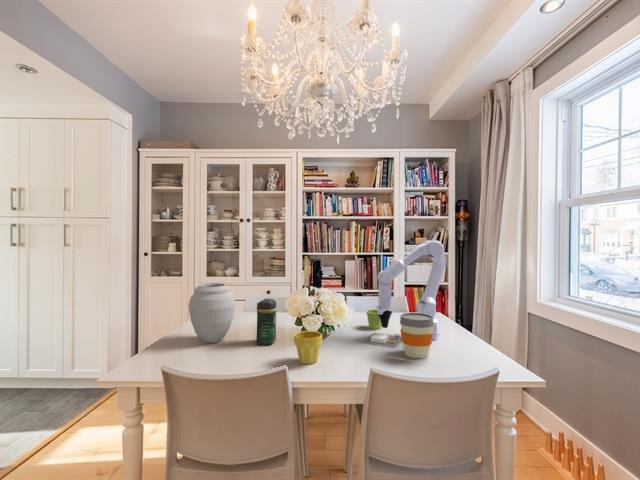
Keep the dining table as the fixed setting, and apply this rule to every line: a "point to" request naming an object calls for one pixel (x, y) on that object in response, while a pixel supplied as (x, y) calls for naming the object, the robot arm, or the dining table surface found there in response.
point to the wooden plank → (393, 339)
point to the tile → (379, 338)
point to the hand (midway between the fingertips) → (384, 327)
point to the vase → (211, 311)
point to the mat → (368, 341)
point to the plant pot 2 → (373, 319)
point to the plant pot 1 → (308, 346)
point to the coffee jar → (266, 322)
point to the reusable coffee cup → (416, 334)
